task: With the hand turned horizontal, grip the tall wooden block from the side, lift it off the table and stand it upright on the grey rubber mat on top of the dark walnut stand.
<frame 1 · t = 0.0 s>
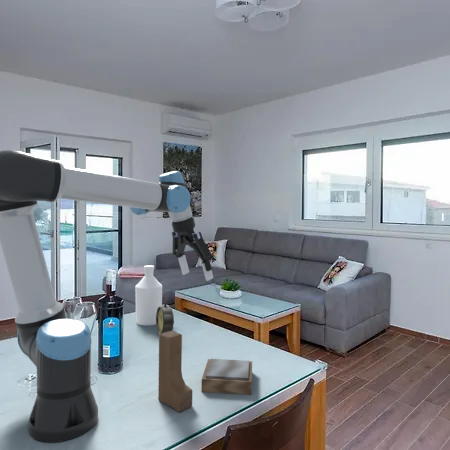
hand: (197, 276, 130), 28 cm above the table, fingers open, 13 cm apart
alarm clock: (165, 336, 150), on the table
walnut stand: (228, 381, 112), on the table
bottle: (148, 321, 169), on the table
wooden block: (175, 403, 99), on the table
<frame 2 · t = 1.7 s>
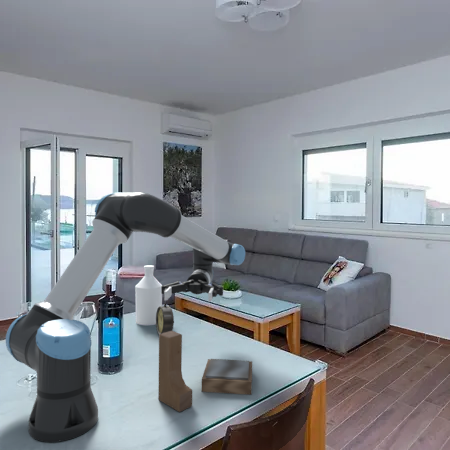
hand: (187, 296, 114), 24 cm above the table, fingers open, 13 cm apart
nothing on the table moved.
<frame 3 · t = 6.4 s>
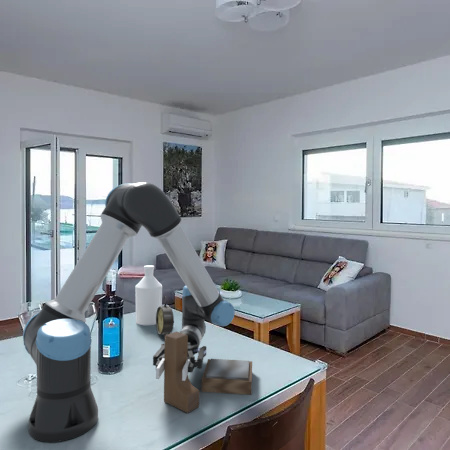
hand: (170, 374, 94), 10 cm above the table, fingers closed on wooden block, 6 cm apart
wooden block: (181, 405, 99), on the table, touching gripper
everything else where it was.
when the fingers open (16 cm above the table, at t = 11.0 s): wooden block drops 1 cm, resting on walnut stand.
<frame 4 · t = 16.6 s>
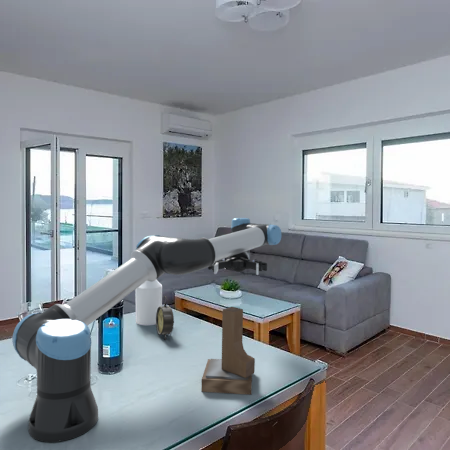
hand: (236, 270, 121), 32 cm above the table, fingers open, 13 cm apart
wooden block: (237, 372, 109), point 4 cm above the table, touching walnut stand
everything else where it was.
at the end: wooden block inside the target area on the walnut stand (3.6 cm from its centre), point 4.0 cm above the walnut stand's base; wooden block tilted 0°; the gripper is holding nothing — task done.
